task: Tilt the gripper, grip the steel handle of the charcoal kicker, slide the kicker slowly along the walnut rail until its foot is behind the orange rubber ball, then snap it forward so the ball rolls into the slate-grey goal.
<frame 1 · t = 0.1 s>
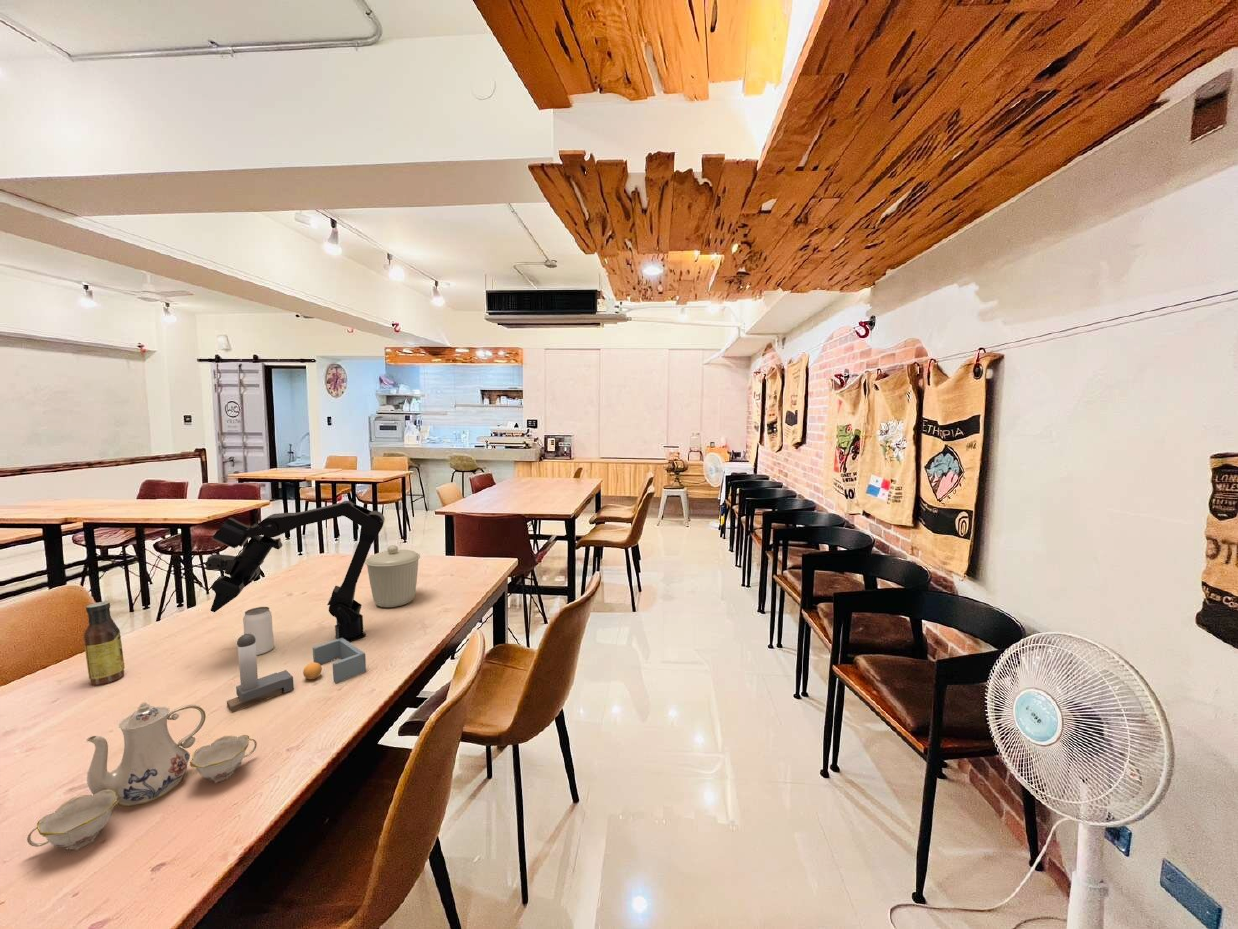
hand: (219, 605, 131), 15 cm above the table, tool tilted 35°, fingers open, 9 cm apart
rail: (261, 697, 113), on the table
canister: (395, 602, 172), on the table
kicker: (263, 662, 113), point 8 cm above the table, slide at 0.0 cm
chinaware: (154, 797, 84), on the table
ball: (312, 670, 122), point 2 cm above the table
goal: (338, 668, 126), on the table
can: (260, 651, 136), on the table
sauce bottle: (107, 680, 121), on the table
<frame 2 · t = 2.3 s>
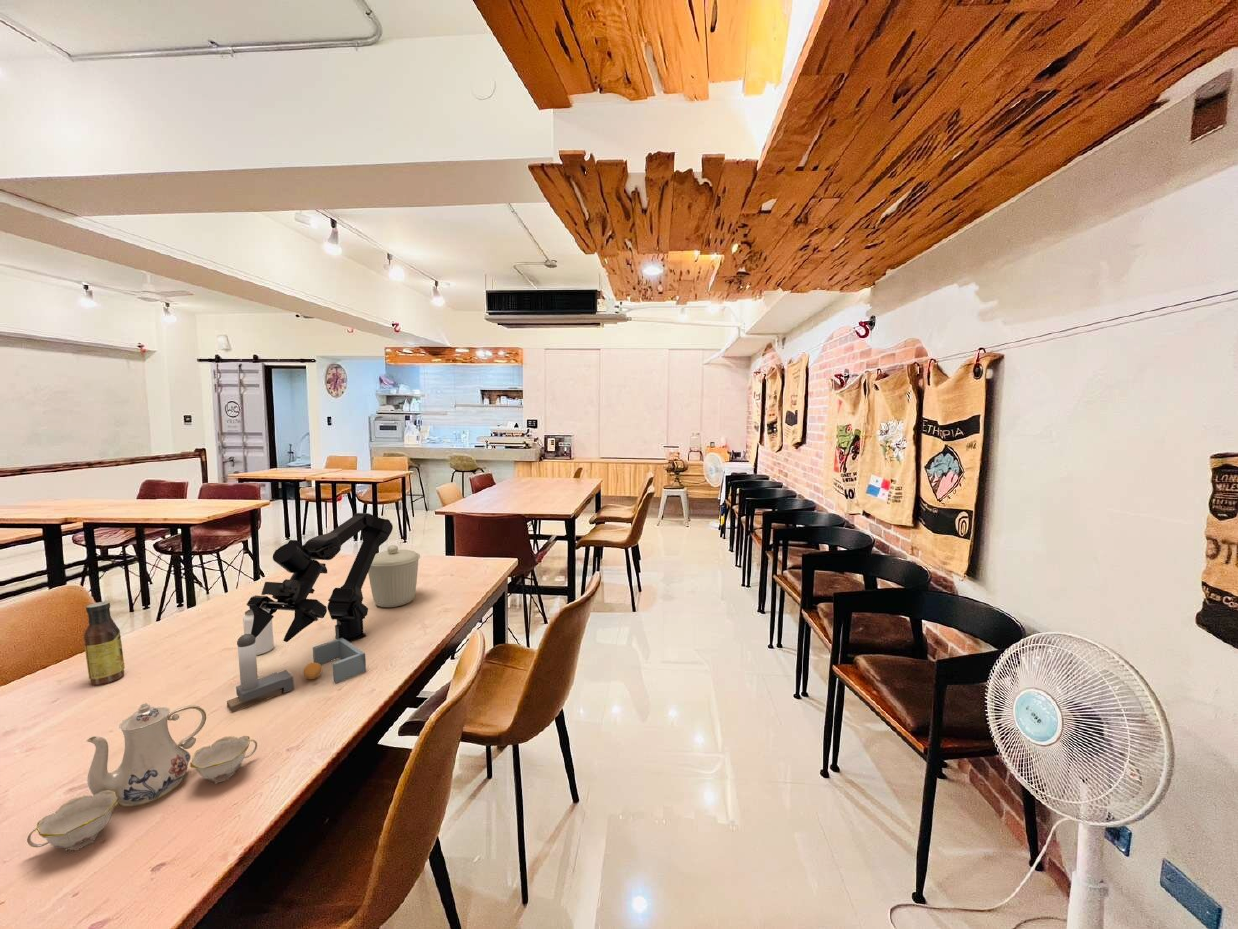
hand: (268, 640, 116), 12 cm above the table, tool tilted 45°, fingers open, 9 cm apart
nothing on the table moved.
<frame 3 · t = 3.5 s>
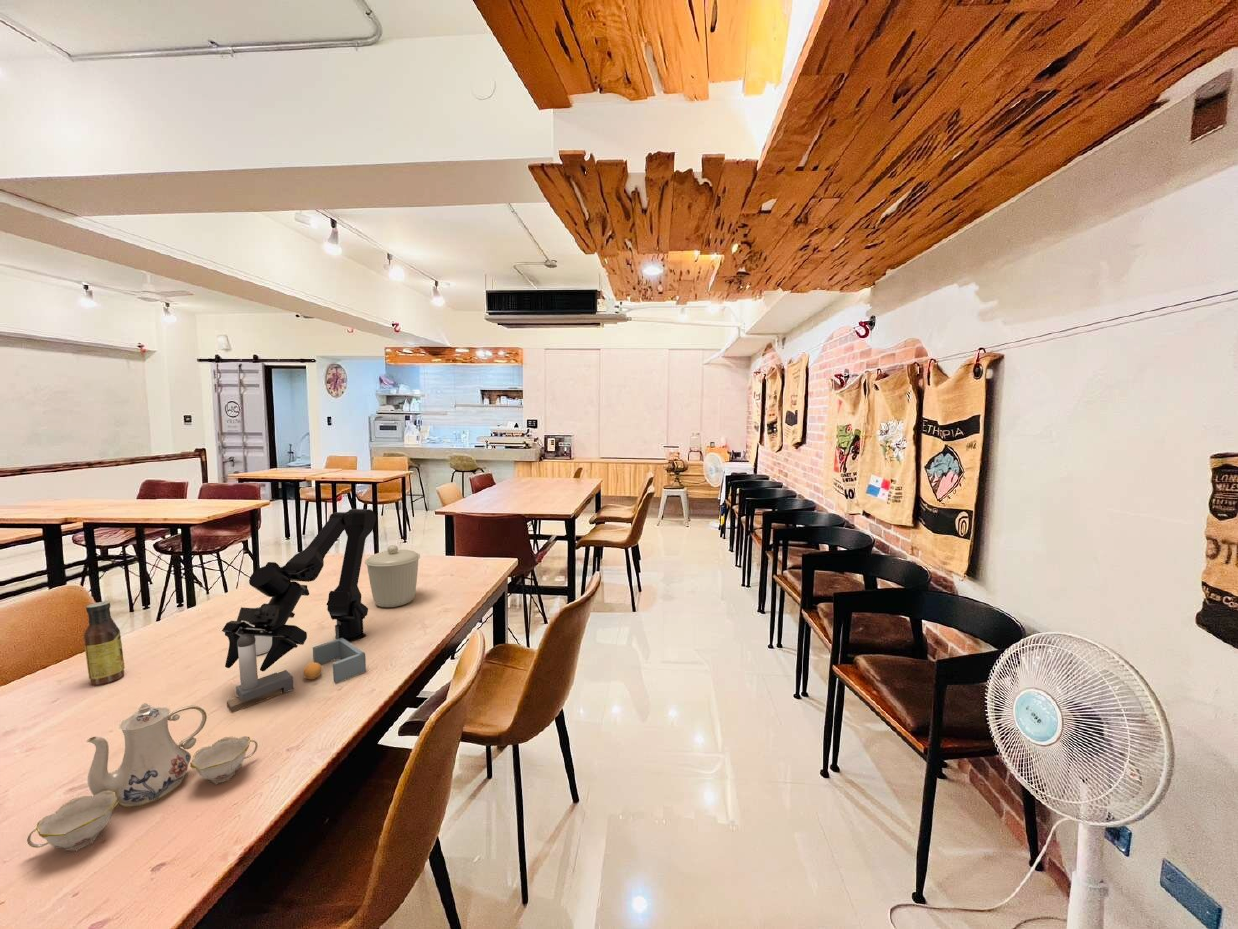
hand: (244, 669, 110), 8 cm above the table, tool tilted 45°, fingers open, 9 cm apart
nothing on the table moved.
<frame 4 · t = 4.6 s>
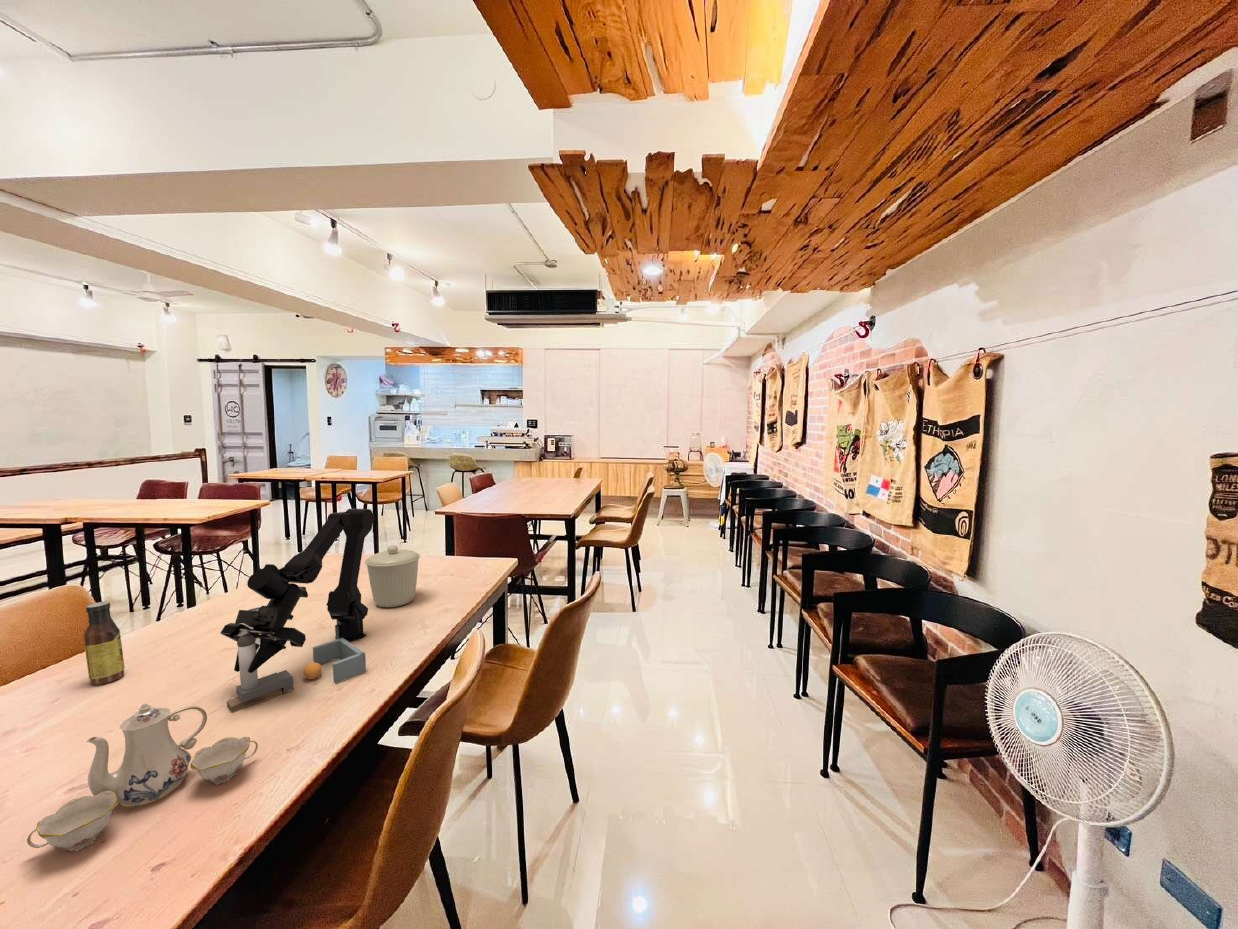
hand: (242, 671, 109), 8 cm above the table, tool tilted 45°, fingers closed on kicker, 3 cm apart
kicker: (263, 662, 113), point 8 cm above the table, slide at 0.0 cm, touching gripper
everything else where it was.
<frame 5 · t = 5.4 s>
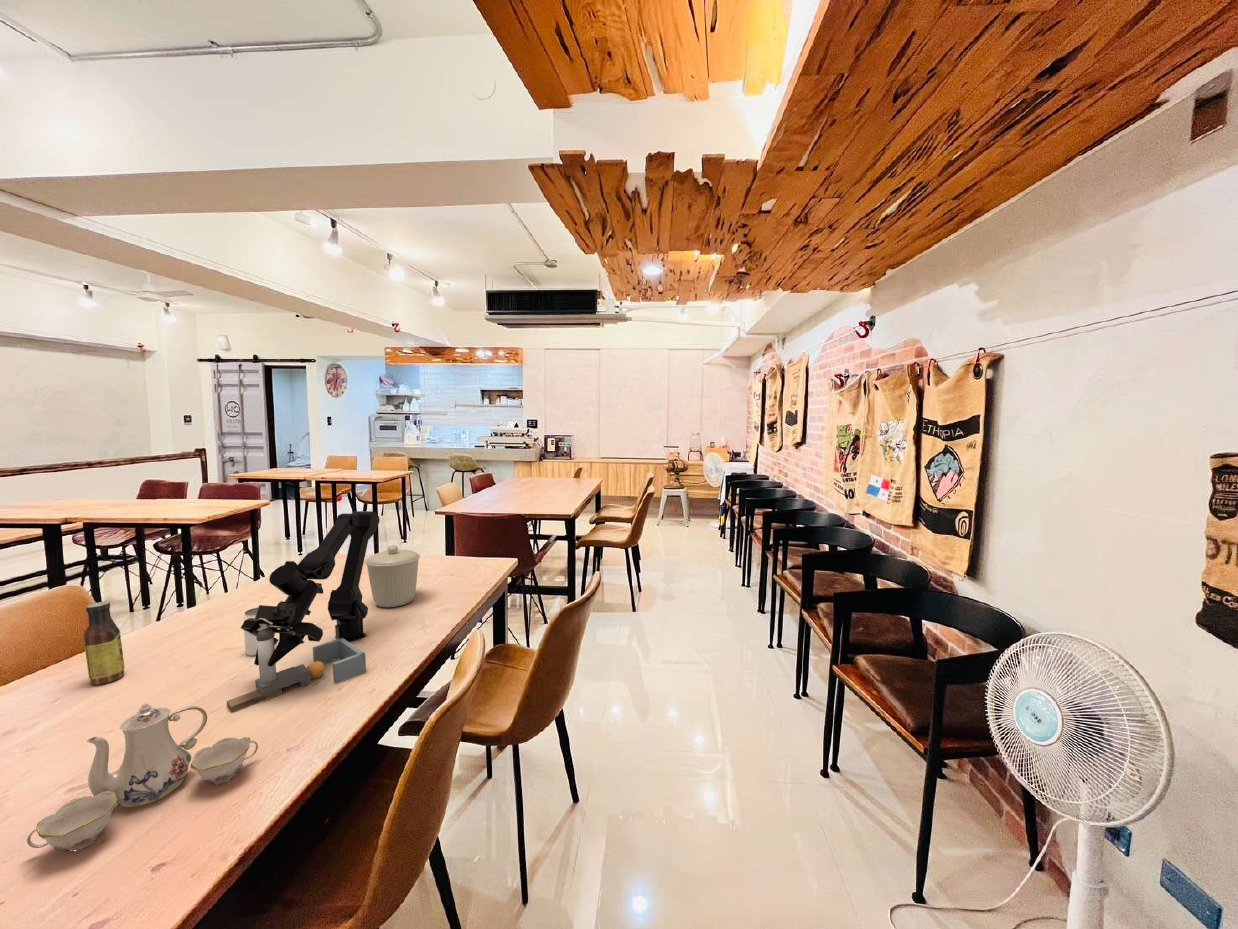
hand: (262, 665, 113), 8 cm above the table, tool tilted 45°, fingers closed on kicker, 3 cm apart
kicker: (281, 656, 116), point 8 cm above the table, slide at 3.7 cm, touching gripper
ball: (315, 669, 122), point 2 cm above the table, tilted 12°
everything else where it was.
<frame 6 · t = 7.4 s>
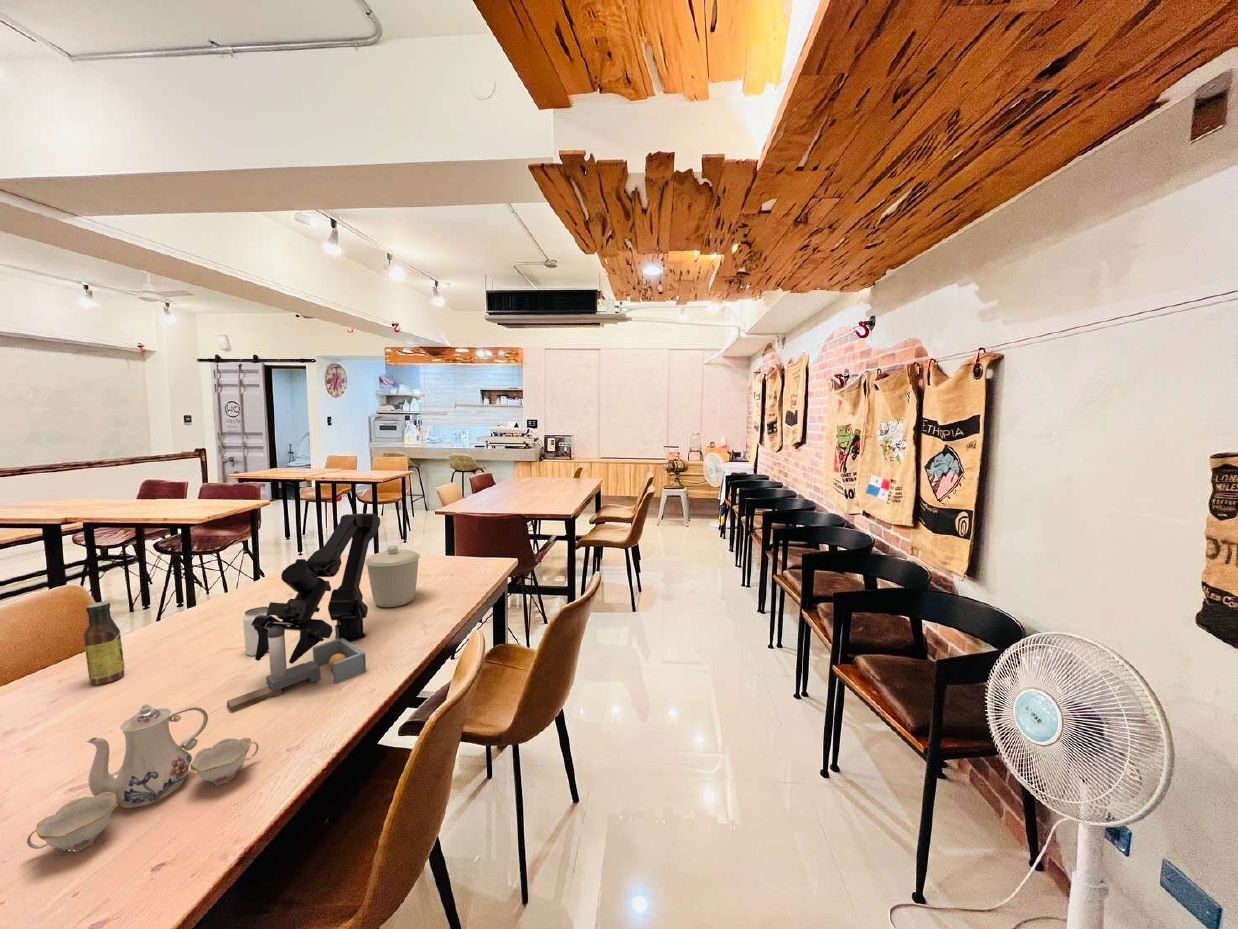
hand: (273, 661, 114), 8 cm above the table, tool tilted 45°, fingers open, 9 cm apart
kicker: (292, 653, 118), point 8 cm above the table, slide at 5.8 cm
ball: (337, 661, 126), point 2 cm above the table, tilted 162°
everything else where it was.
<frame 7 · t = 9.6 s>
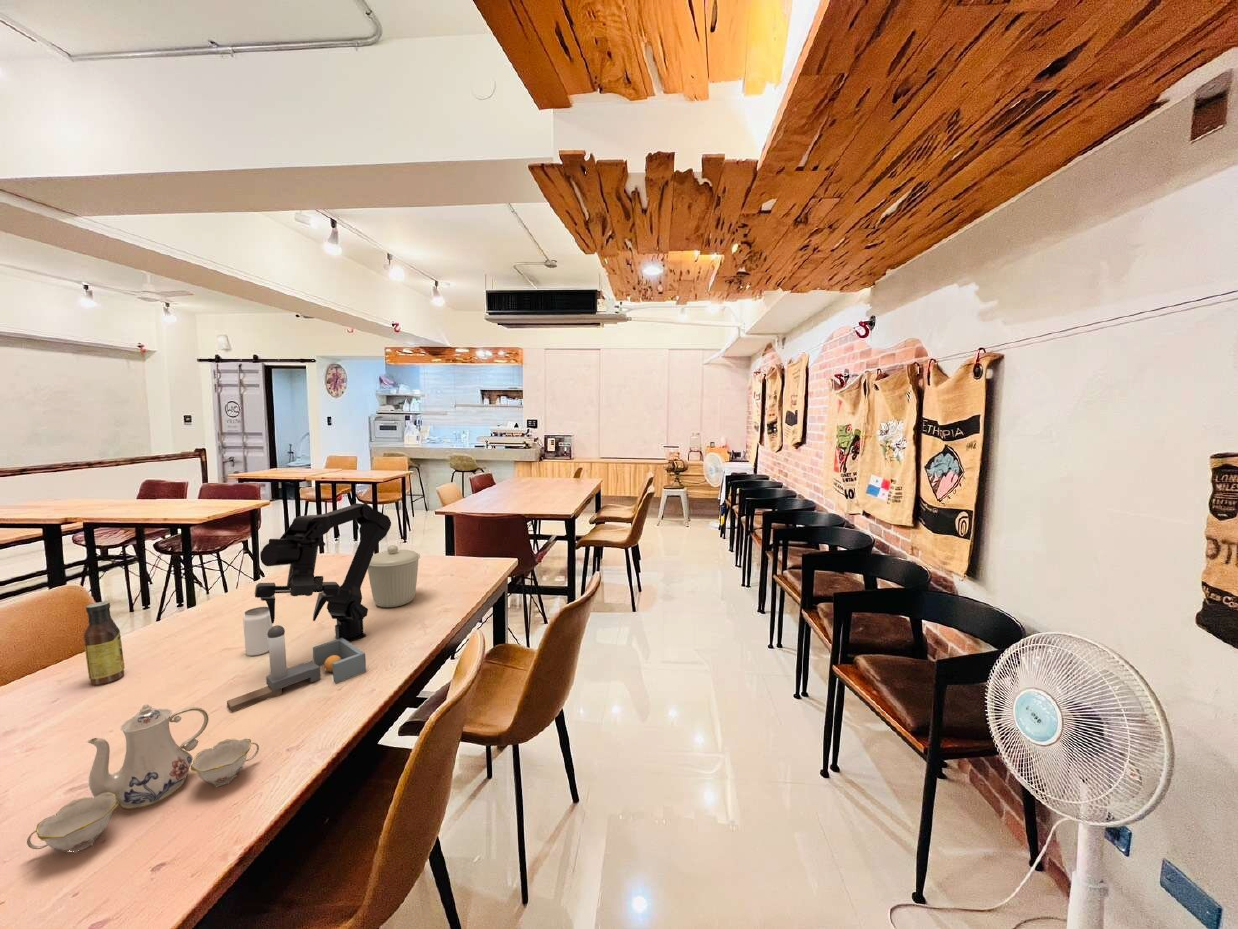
hand: (293, 622, 127), 12 cm above the table, tool pointing down, fingers open, 9 cm apart
ball: (333, 663, 125), point 2 cm above the table, tilted 130°
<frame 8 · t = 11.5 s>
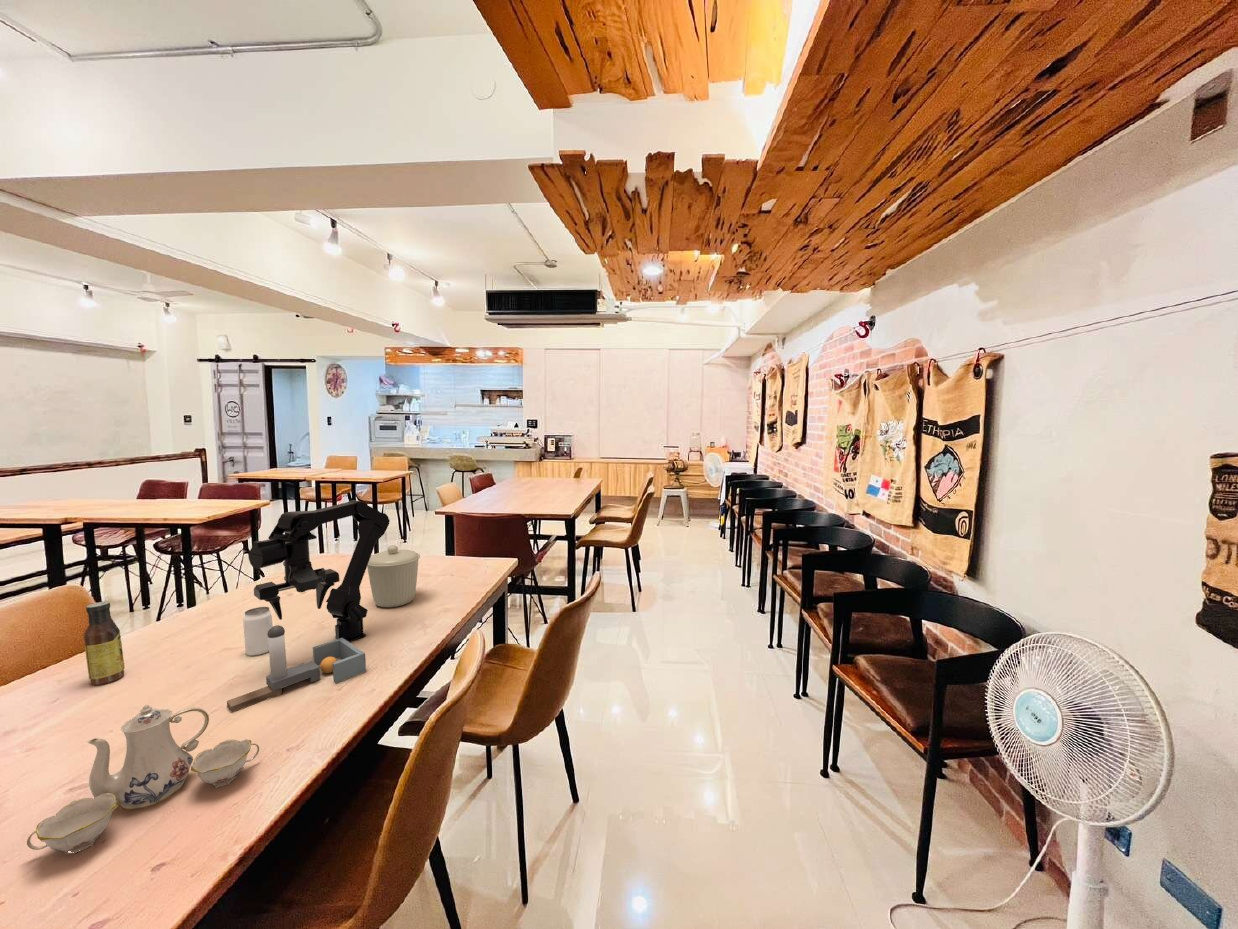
hand: (300, 613, 130), 13 cm above the table, tool pointing down, fingers open, 9 cm apart
ball: (329, 664, 125), point 2 cm above the table, tilted 102°
at the end: ball inside the target area on the goal (2.2 cm from its centre), point 2.0 cm above the goal's base; kicker slide at 5.8 cm; the gripper is holding nothing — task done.
